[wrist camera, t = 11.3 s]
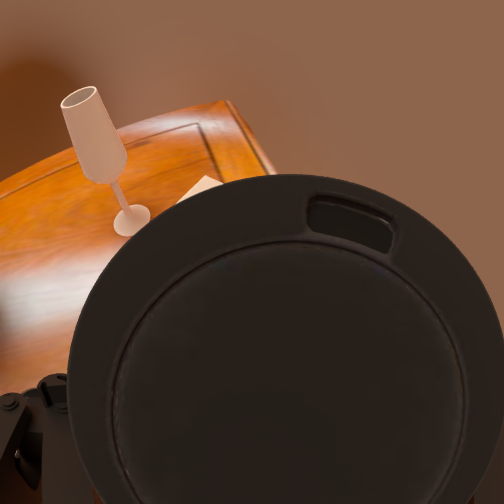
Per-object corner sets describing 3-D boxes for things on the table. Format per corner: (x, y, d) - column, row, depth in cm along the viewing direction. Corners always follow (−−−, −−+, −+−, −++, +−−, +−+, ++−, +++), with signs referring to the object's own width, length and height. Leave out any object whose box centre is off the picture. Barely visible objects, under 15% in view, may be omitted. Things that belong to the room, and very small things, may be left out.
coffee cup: (328, 330, 20) (435, 149, 7) (353, 466, 15) (548, 497, 2) (185, 348, 19) (70, 178, 6) (199, 489, 14) (69, 603, 1)
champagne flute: (156, 207, 50) (114, 80, 29) (140, 239, 46) (82, 111, 26) (123, 202, 51) (75, 85, 30) (107, 233, 47) (43, 115, 27)
